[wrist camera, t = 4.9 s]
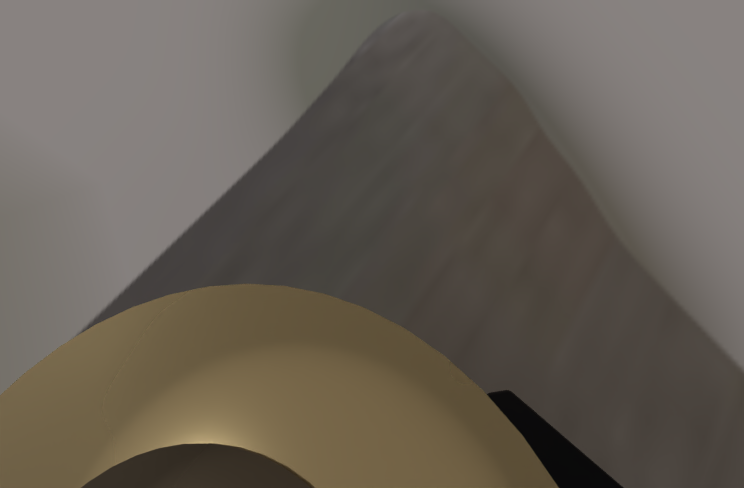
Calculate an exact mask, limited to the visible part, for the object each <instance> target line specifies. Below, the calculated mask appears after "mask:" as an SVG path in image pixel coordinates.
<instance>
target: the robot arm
mask: <svg viewBox="0 0 744 488" xmlns="http://www.w3.org/2000/svg"><path fill="white" fill-rule="evenodd" d="M487 396H488V397H489V398H490V399H491V400H492V401H493V402H494V404H495V405H496V406H497V407H498V408H499V409H500V410H501V411H502V413H503V414H504V415H505V416H506V417H507V418H508V419H509V421H510V422H511V423H512V424H513V425H514V426H515V427H516V429H517V430H518V431H519V432H520V433H521V434H522V435H523V437H524V438H525V440H526V441H527V443H528V444H529V445H530V447H531V448H532V450H533V451H534V453H535V454H536V456H537V457H538V458H539V460H540V461H541V463H542V464H543V466H544V467H545V469H546V470H547V471H548V473H549V474H550V476H551V477H552V479H553V480H554V481H555V483H556V484H557V486H558V487H559V488H623V487H622V486H621V485H620V484H619V483H617V482H616V481H615V480H614V479H613V478H612V477H610V476H609V475H608V474H607V473H606V472H605V471H603V470H602V469H601V468H600V467H599V466H598V465H596V464H595V463H594V462H593V461H592V460H591V459H589V458H588V457H587V456H586V455H585V454H584V453H582V452H581V451H580V450H579V449H578V448H577V447H575V446H574V445H573V444H572V443H571V442H570V441H568V440H567V439H566V438H565V437H564V436H563V435H561V434H560V433H559V432H558V431H557V430H556V429H554V428H553V427H552V426H551V425H550V424H549V423H547V422H546V421H545V420H544V419H543V418H542V417H540V416H539V415H538V414H537V413H536V412H535V411H534V410H532V409H531V408H530V407H529V406H528V405H527V404H525V403H524V402H523V401H522V400H521V399H520V398H518V397H517V396H516V395H515V394H514V393H513V392H511V391H509V390H504V391H498V392H491V393H488V394H487Z"/></svg>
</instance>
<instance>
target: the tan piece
mask: <svg viewBox="0 0 744 488" xmlns="http://www.w3.org/2000/svg"><path fill="white" fill-rule="evenodd" d="M0 488H559V487H558V486H557V484H556V483H555V481H554V480H553V479H552V477H551V476H550V474H549V473H548V471H547V470H546V469H545V467H544V466H543V464H542V463H541V461H540V460H539V458H538V457H537V456H536V454H535V453H534V451H533V450H532V448H531V447H530V445H529V444H528V443H527V441H526V440H525V438H524V437H523V435H522V434H521V433H520V432H519V431H518V430H517V429H516V427H515V426H514V425H513V424H512V423H511V422H510V421H509V419H508V418H507V417H506V416H505V415H504V414H503V413H502V411H501V410H500V409H499V408H498V407H497V406H496V405H495V404H494V402H493V401H492V400H491V399H490V398H489V397H488V396H487V394H486V393H485V392H484V391H483V390H482V389H481V388H480V387H479V386H477V385H476V384H475V383H474V382H473V381H472V380H471V379H470V378H468V377H467V376H466V375H465V374H464V373H463V372H462V371H461V370H459V369H458V368H457V367H456V366H455V365H454V364H453V363H452V362H451V361H449V360H448V359H447V358H446V357H445V356H444V355H442V354H441V353H439V352H438V351H437V350H435V349H434V348H432V347H431V346H429V345H428V344H426V343H425V342H424V341H422V340H421V339H419V338H418V337H416V336H415V335H413V334H412V333H410V332H409V331H408V330H406V329H405V328H403V327H401V326H399V325H397V324H395V323H393V322H391V321H389V320H387V319H385V318H383V317H381V316H379V315H377V314H375V313H373V312H371V311H370V310H368V309H366V308H364V307H361V306H358V305H355V304H352V303H349V302H346V301H343V300H340V299H338V298H335V297H332V296H329V295H326V294H322V293H317V292H312V291H307V290H302V289H297V288H292V287H287V286H275V285H258V284H237V285H224V286H211V287H204V288H199V289H194V290H190V291H185V292H180V293H175V294H170V295H167V296H164V297H161V298H158V299H155V300H153V301H150V302H147V303H144V304H141V305H138V306H135V307H132V308H130V309H128V310H126V311H124V312H121V313H119V314H117V315H115V316H113V317H111V318H109V319H107V320H105V321H102V322H100V323H98V324H96V325H94V326H93V327H91V328H89V329H88V330H86V331H85V332H83V333H81V334H80V335H78V336H76V337H75V338H73V339H71V340H70V341H68V342H67V343H65V344H63V345H62V346H60V347H59V348H57V349H56V350H55V351H53V352H52V353H51V354H49V355H48V356H47V357H45V358H44V359H43V360H41V361H40V362H39V363H37V364H36V365H35V366H34V367H32V368H31V369H30V370H28V371H27V372H26V373H24V374H23V375H22V376H21V377H20V378H19V379H18V380H17V381H16V382H14V383H13V384H12V385H11V386H10V387H9V388H8V389H7V390H6V391H4V392H3V393H2V394H1V395H0Z"/></svg>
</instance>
